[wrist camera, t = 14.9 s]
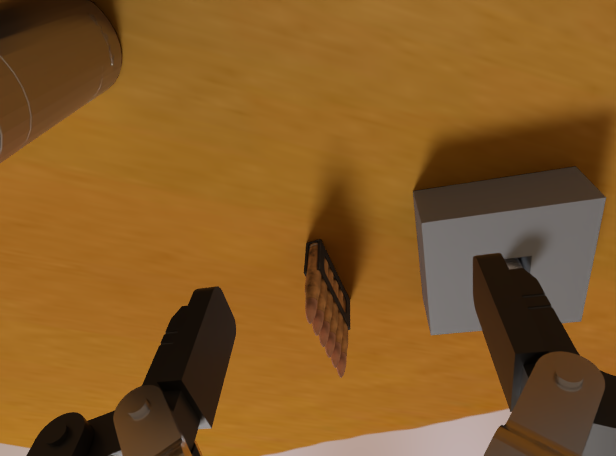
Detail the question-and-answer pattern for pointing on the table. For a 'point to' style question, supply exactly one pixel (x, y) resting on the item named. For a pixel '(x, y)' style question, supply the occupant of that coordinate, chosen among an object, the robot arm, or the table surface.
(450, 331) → the socket block
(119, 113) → the table surface
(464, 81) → the table surface
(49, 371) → the table surface
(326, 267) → the ammunition clip
